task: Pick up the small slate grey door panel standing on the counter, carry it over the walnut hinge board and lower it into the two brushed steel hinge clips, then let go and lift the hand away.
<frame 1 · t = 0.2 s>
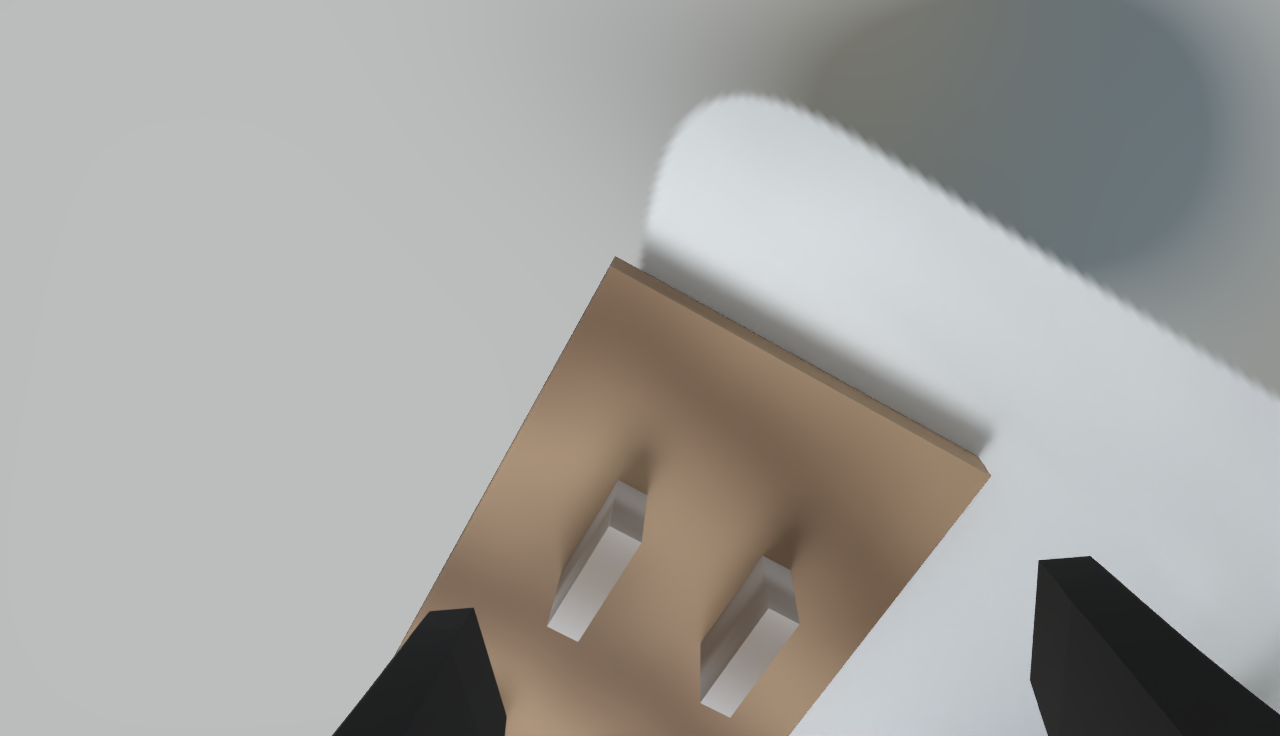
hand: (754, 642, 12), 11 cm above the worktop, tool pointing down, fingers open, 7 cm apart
hinge board: (603, 661, 25), on the worktop
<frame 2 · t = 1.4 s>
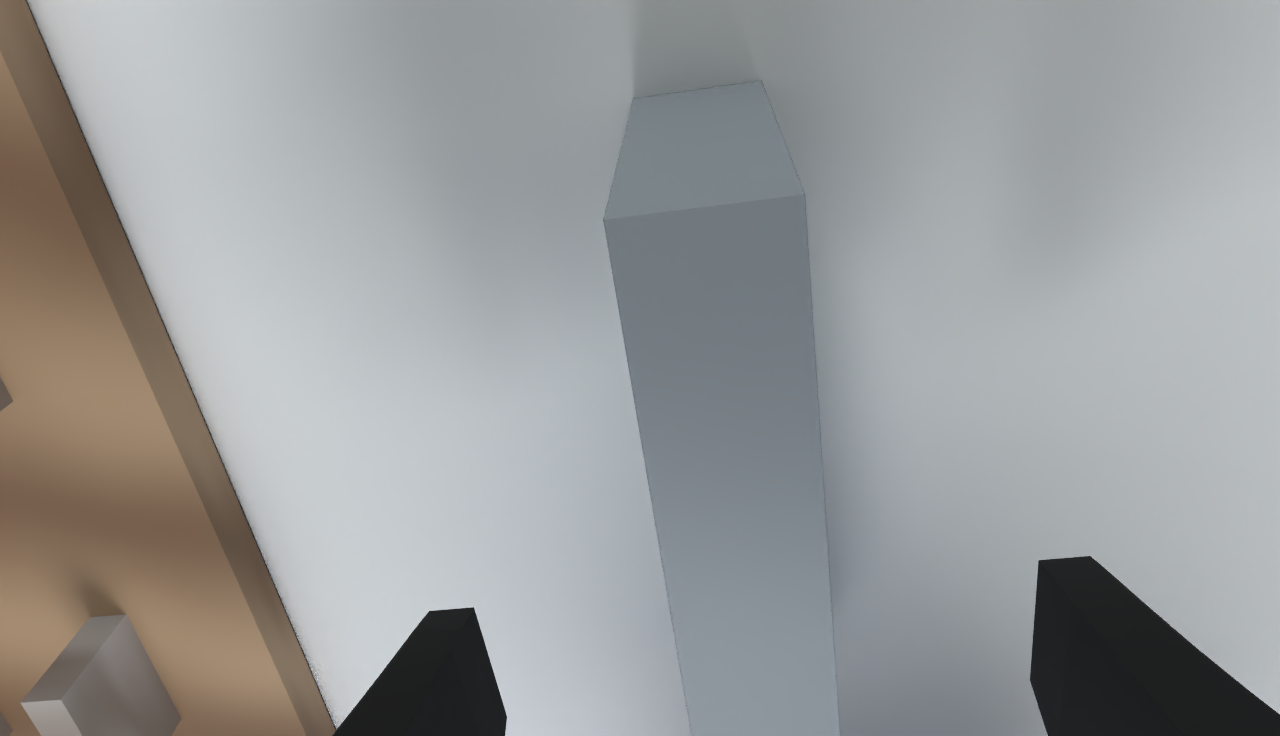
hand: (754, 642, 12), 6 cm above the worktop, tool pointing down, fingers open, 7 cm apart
door panel: (734, 415, 17), on the worktop
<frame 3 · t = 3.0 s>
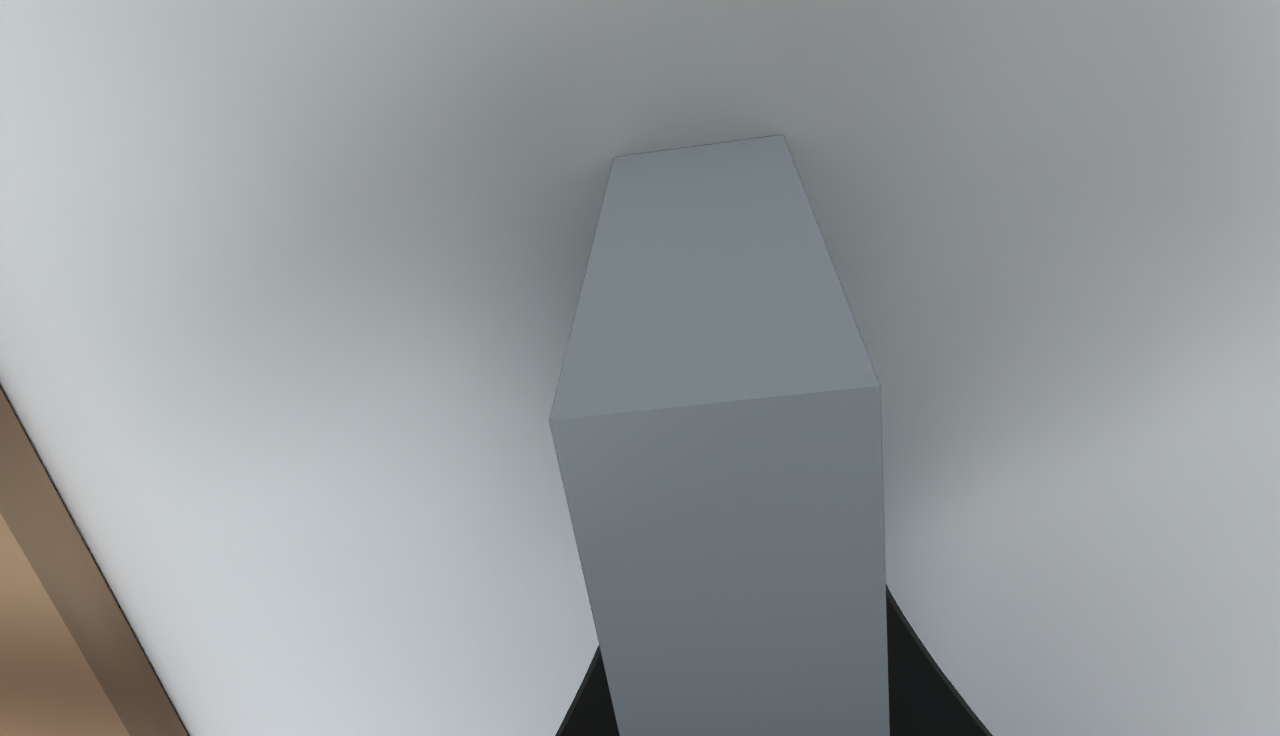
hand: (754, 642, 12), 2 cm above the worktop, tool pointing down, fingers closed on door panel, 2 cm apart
door panel: (744, 545, 14), on the worktop, touching gripper
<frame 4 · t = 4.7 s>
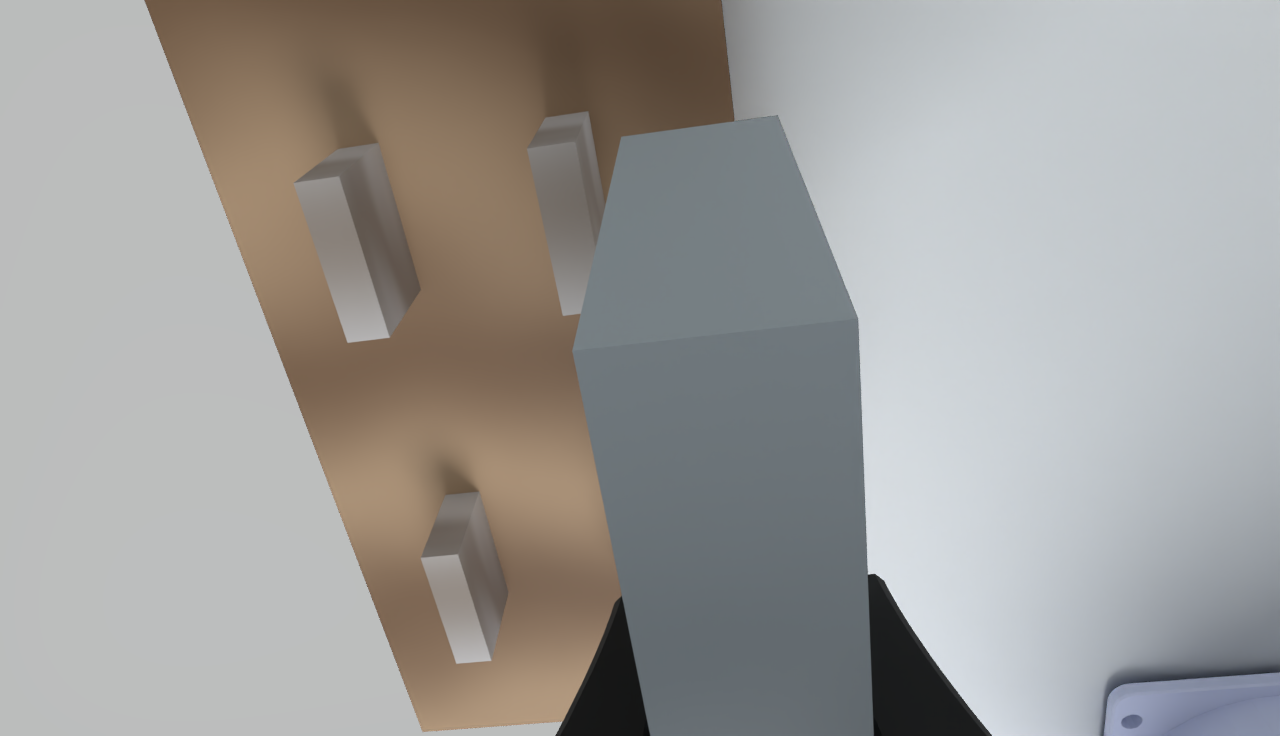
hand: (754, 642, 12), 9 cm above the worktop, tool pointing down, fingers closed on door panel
hinge board: (531, 365, 20), on the worktop
door panel: (742, 504, 14), point 6 cm above the worktop, touching gripper
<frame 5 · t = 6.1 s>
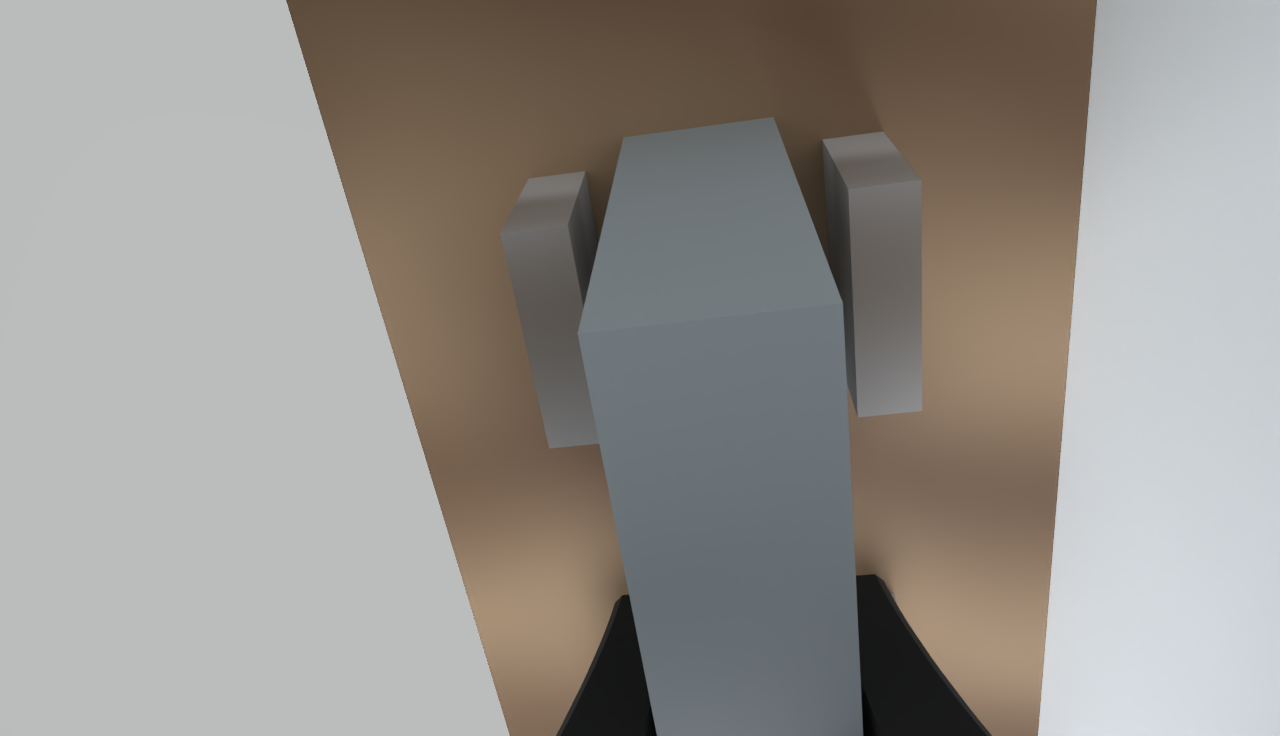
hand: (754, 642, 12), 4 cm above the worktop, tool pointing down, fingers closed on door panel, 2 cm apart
hinge board: (737, 454, 16), on the worktop
door panel: (740, 494, 15), point 1 cm above the worktop, touching gripper, hinge board
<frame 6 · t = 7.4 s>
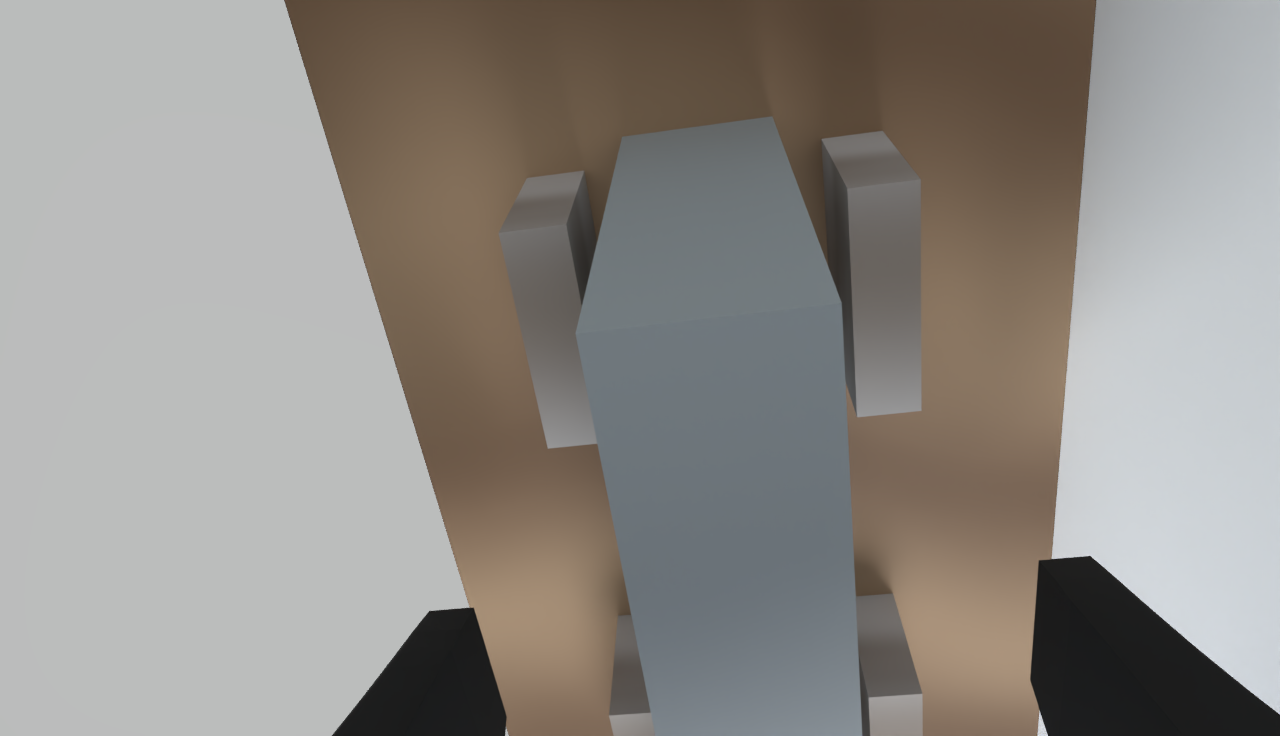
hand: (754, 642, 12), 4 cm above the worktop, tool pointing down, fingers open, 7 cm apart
hinge board: (736, 454, 16), on the worktop
door panel: (739, 494, 15), point 1 cm above the worktop, touching hinge board
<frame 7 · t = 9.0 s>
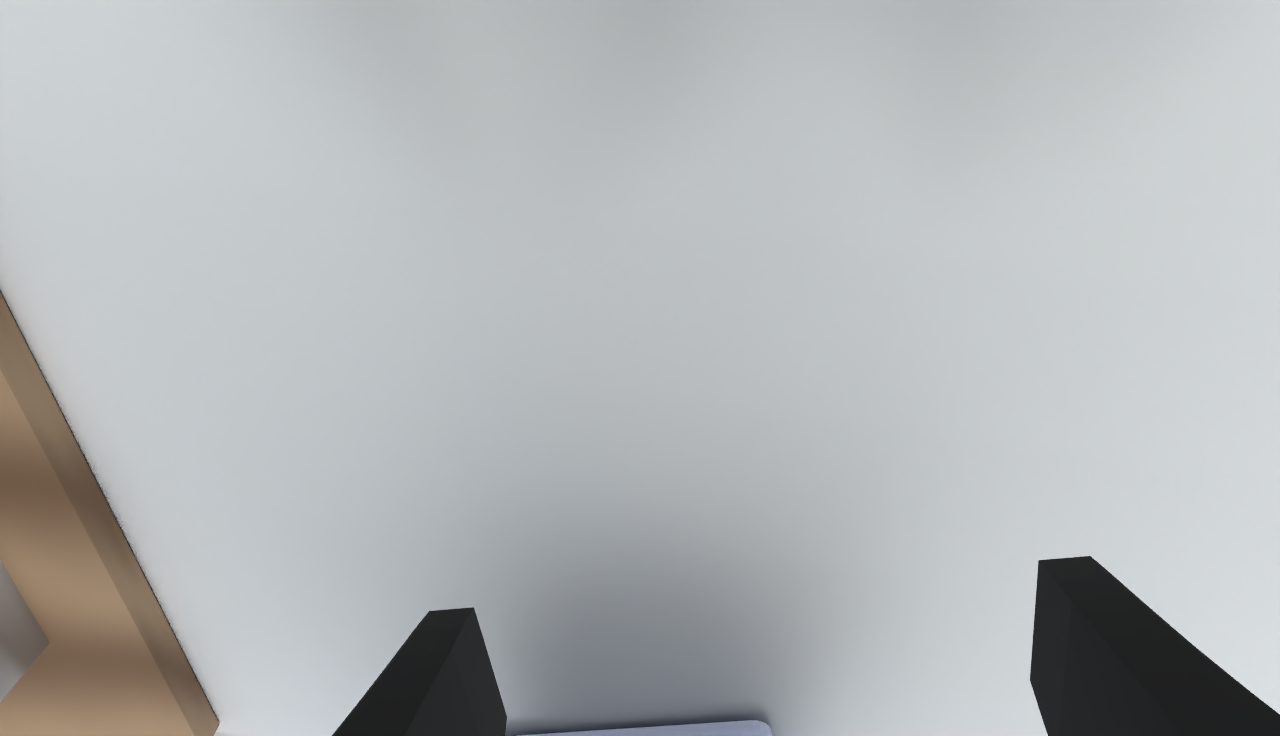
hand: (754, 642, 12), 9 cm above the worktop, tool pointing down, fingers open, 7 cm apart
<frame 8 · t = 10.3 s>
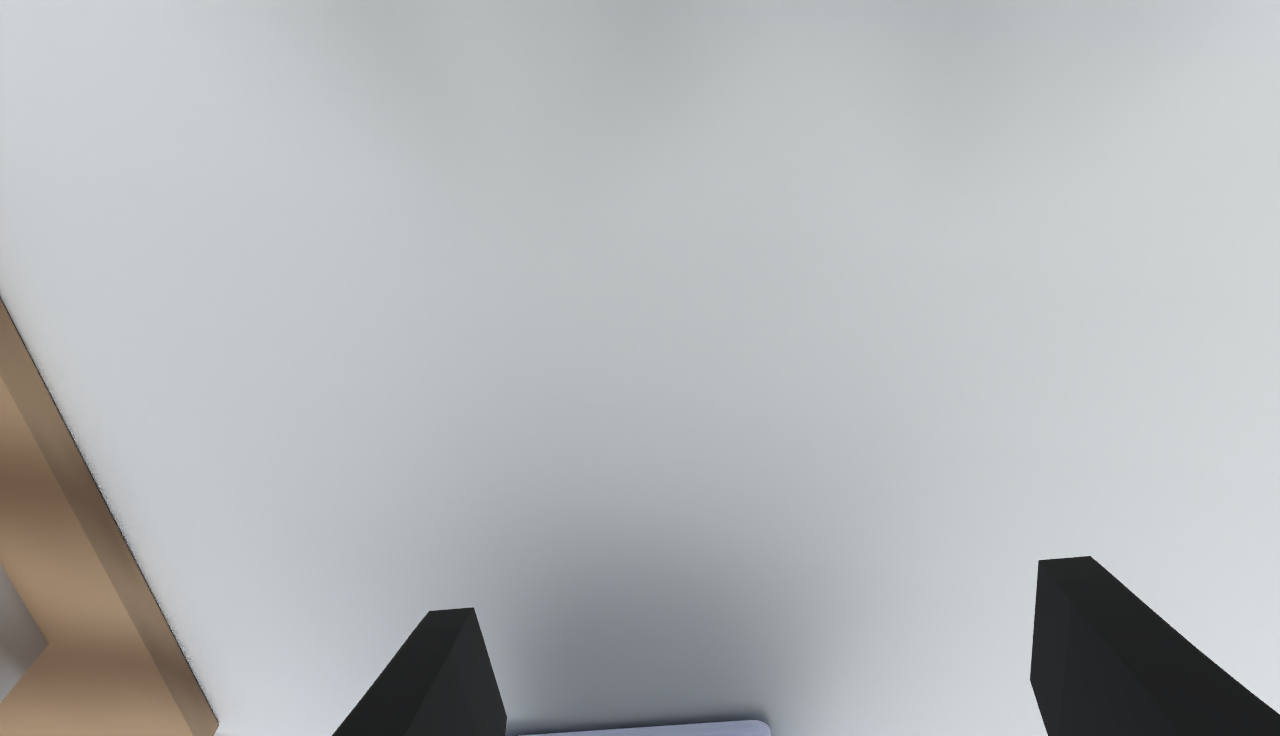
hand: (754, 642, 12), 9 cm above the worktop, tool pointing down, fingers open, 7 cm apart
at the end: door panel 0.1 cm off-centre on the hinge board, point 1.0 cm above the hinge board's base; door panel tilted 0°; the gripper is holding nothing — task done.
